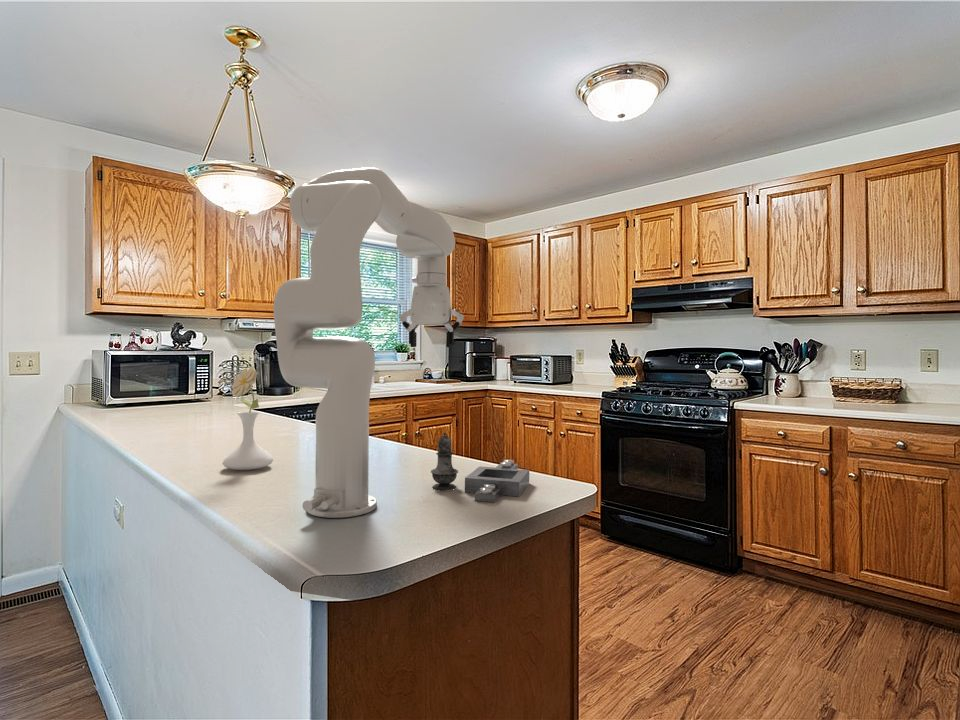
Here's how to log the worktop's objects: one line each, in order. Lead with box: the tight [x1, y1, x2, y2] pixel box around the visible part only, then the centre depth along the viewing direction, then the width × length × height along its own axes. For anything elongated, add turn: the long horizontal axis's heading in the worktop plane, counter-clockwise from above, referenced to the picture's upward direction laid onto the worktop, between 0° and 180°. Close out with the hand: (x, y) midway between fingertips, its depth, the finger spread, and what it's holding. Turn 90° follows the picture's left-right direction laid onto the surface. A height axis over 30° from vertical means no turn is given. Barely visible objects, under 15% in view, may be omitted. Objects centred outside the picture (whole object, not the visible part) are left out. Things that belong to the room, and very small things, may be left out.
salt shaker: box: [430, 431, 459, 492], centre depth 115 cm, size 6×6×12 cm
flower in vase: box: [222, 366, 274, 471], centre depth 130 cm, size 13×11×25 cm
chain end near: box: [464, 476, 530, 503], centre depth 112 cm, size 17×12×2 cm, turn 165°
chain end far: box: [464, 459, 530, 489], centre depth 118 cm, size 17×12×4 cm, turn 165°
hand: (431, 347), depth 140 cm, fingers open, 9 cm apart
